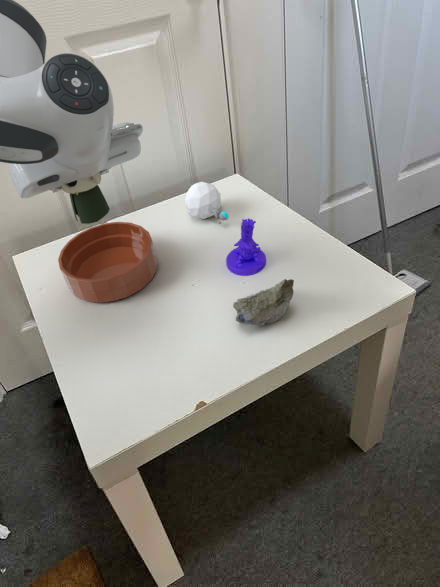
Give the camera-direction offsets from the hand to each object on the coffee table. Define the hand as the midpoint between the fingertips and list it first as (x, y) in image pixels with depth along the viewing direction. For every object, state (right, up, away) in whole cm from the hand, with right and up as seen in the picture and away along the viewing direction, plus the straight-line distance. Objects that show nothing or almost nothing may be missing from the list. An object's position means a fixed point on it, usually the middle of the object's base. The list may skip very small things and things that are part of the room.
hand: (79, 178), depth 78 cm
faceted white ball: (+22, -3, +25) cm, 33 cm away
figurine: (+29, -14, +13) cm, 35 cm away
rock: (+31, -23, +2) cm, 39 cm away
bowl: (+2, -15, +15) cm, 21 cm away
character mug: (+1, -6, +5) cm, 8 cm away
